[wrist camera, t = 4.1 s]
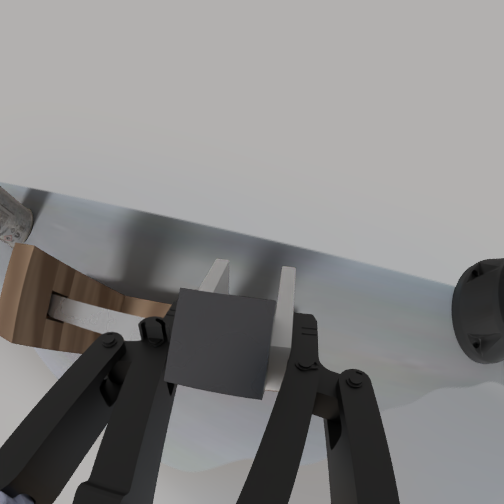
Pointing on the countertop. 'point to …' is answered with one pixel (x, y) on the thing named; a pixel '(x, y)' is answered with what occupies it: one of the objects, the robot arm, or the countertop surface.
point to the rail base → (61, 284)
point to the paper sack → (13, 219)
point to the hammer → (197, 338)
